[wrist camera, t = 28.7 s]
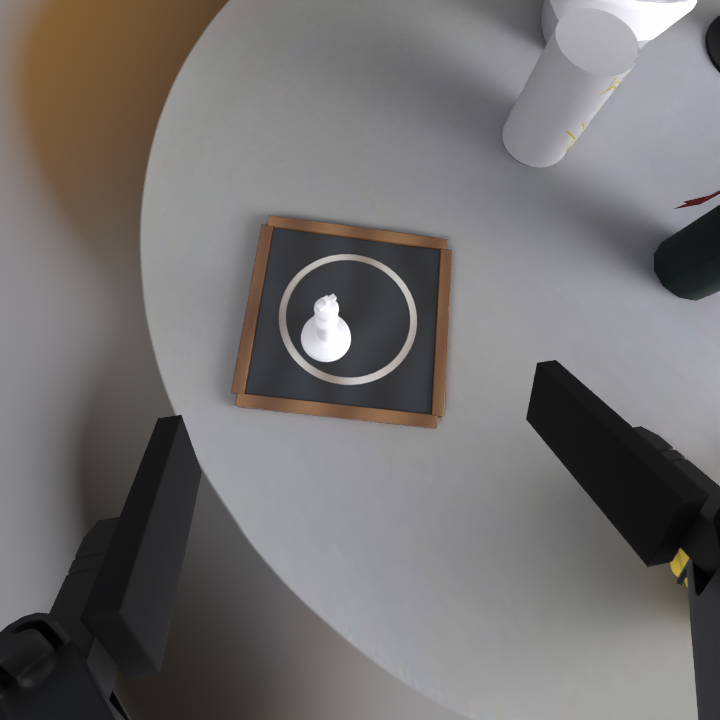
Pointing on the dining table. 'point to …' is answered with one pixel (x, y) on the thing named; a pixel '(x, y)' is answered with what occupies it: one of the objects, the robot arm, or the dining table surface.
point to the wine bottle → (692, 256)
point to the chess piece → (326, 332)
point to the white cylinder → (569, 85)
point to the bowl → (622, 14)
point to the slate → (359, 311)
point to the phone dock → (714, 42)
